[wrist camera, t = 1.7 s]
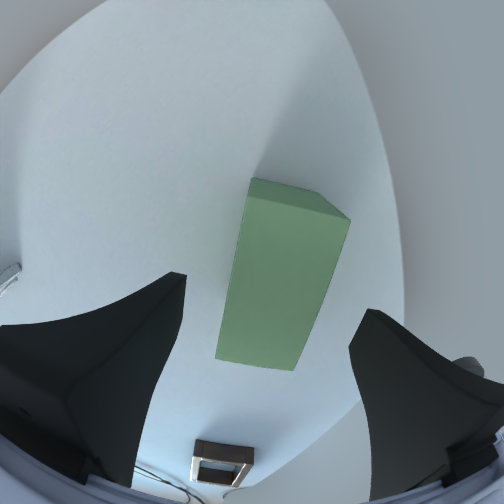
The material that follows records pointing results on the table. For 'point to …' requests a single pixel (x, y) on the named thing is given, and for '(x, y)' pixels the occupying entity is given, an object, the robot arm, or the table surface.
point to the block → (279, 274)
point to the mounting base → (223, 455)
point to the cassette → (8, 278)
